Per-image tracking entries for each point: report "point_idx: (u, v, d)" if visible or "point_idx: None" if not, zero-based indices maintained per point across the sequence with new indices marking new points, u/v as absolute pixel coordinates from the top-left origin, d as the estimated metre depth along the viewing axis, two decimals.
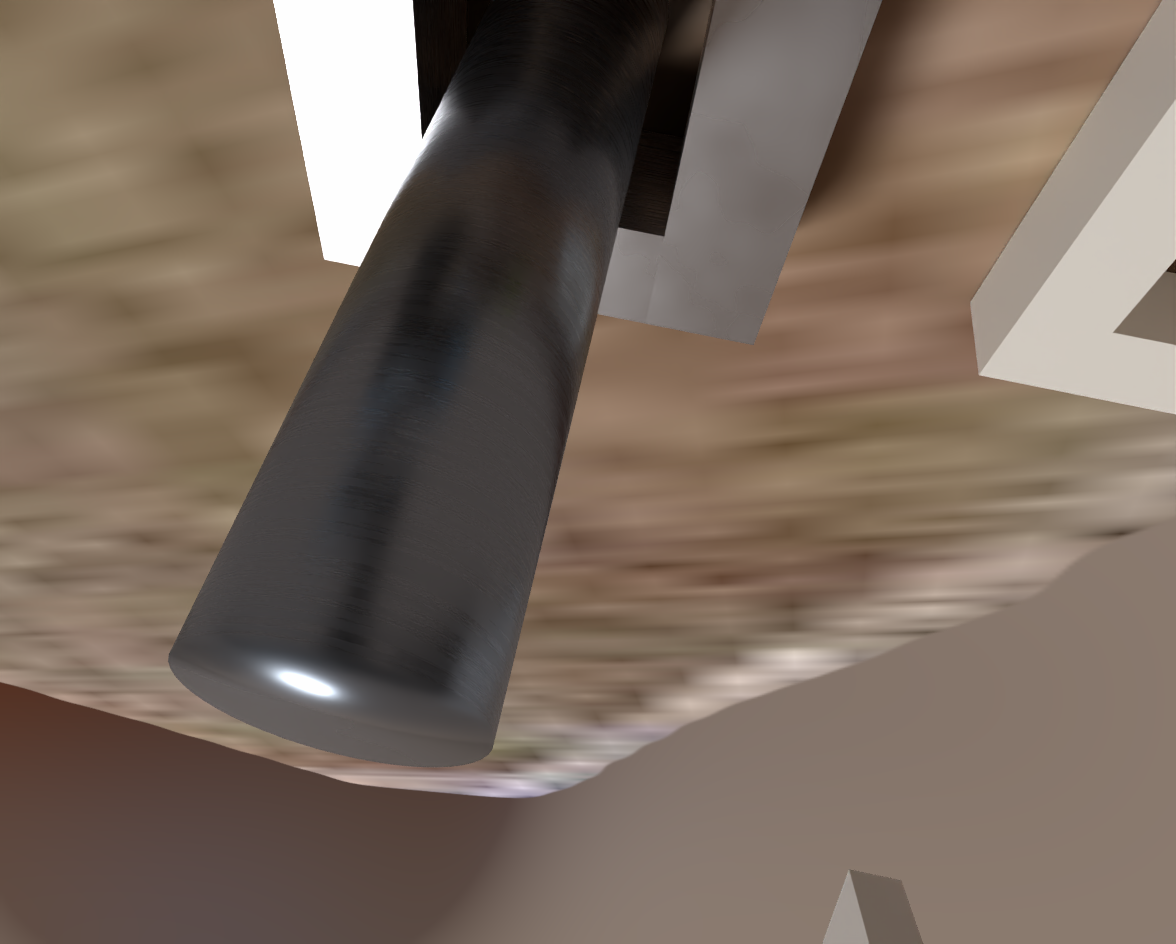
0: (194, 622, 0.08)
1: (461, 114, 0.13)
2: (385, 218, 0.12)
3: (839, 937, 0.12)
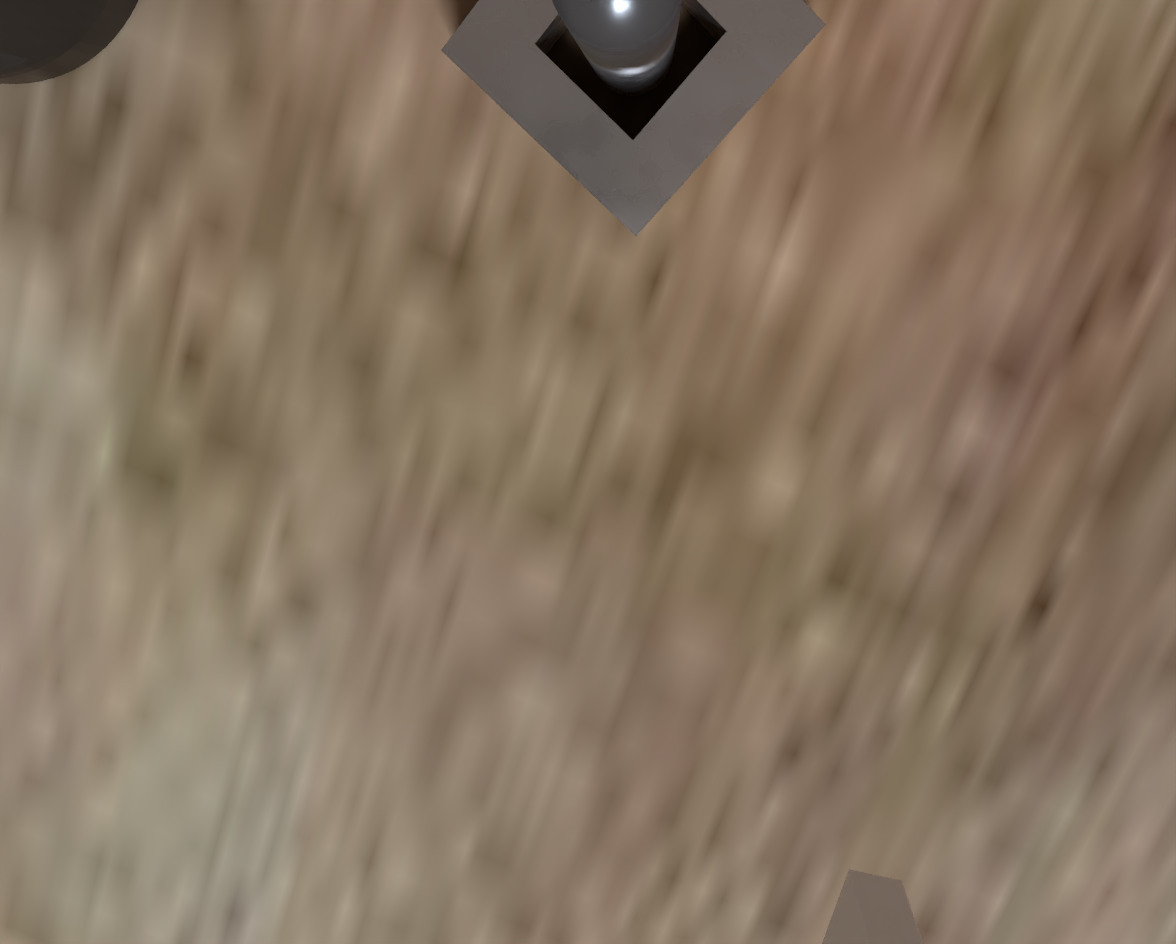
0: None
1: None
2: None
3: (839, 937, 0.12)
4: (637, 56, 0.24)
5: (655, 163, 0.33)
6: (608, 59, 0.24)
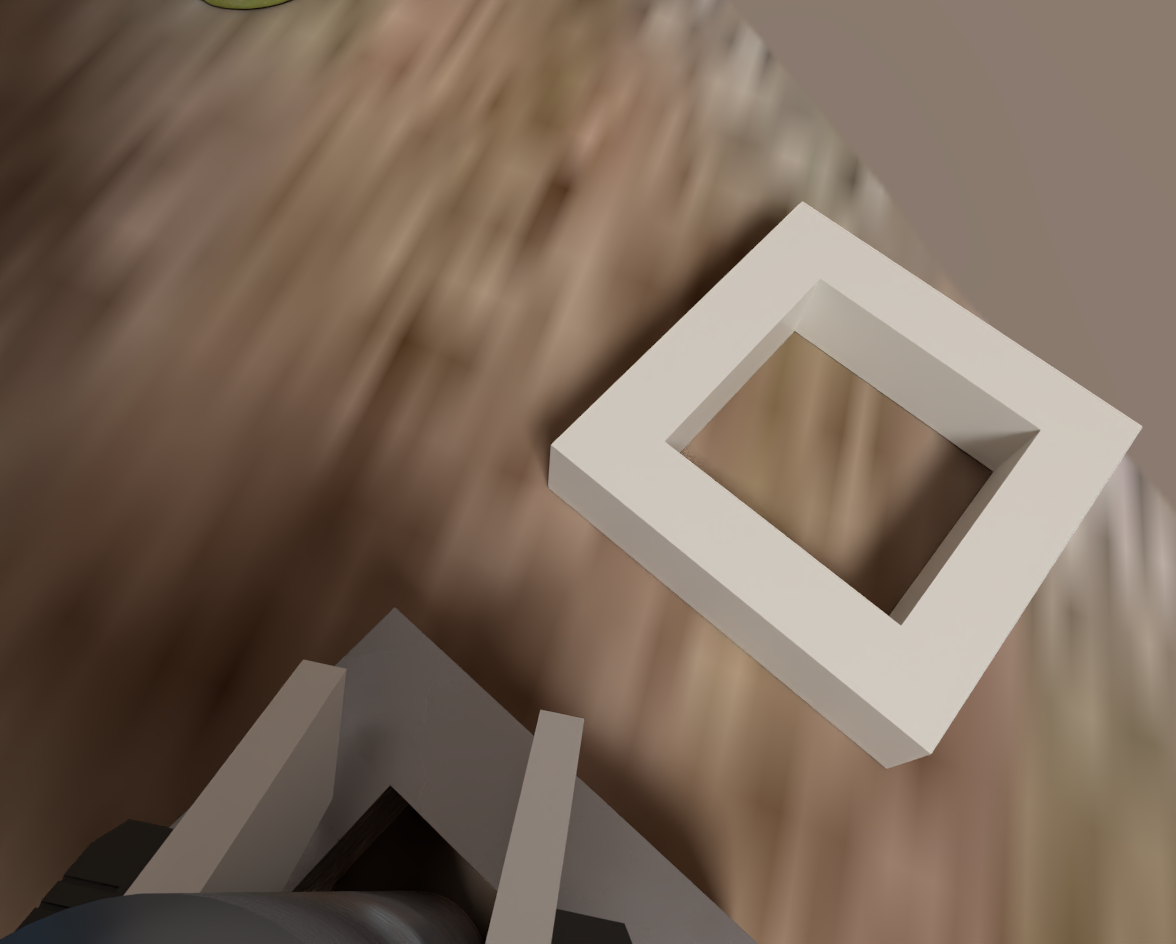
0: None
1: None
2: None
3: None
4: None
5: None
6: None
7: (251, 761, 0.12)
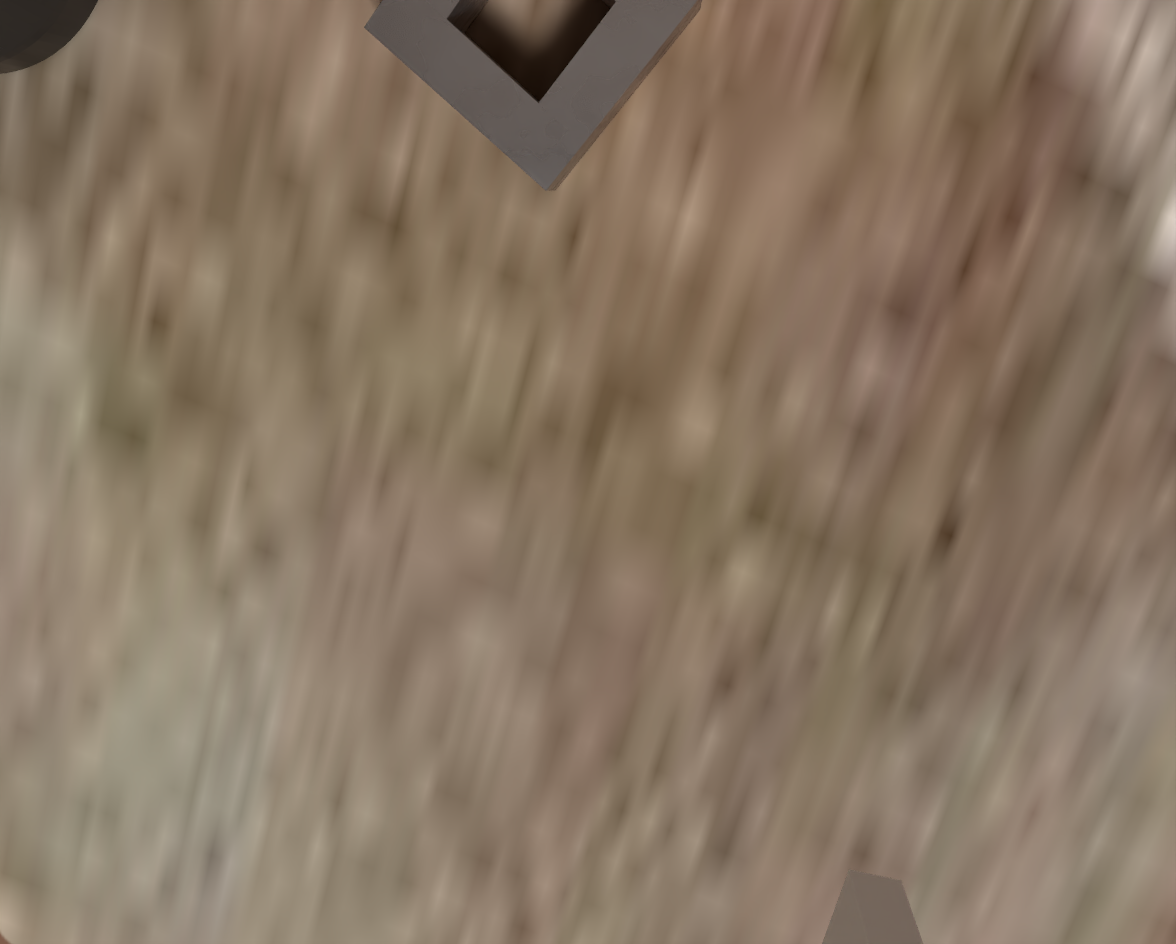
0: None
1: None
2: None
3: (839, 936, 0.12)
4: None
5: (559, 123, 0.37)
6: None
7: None
